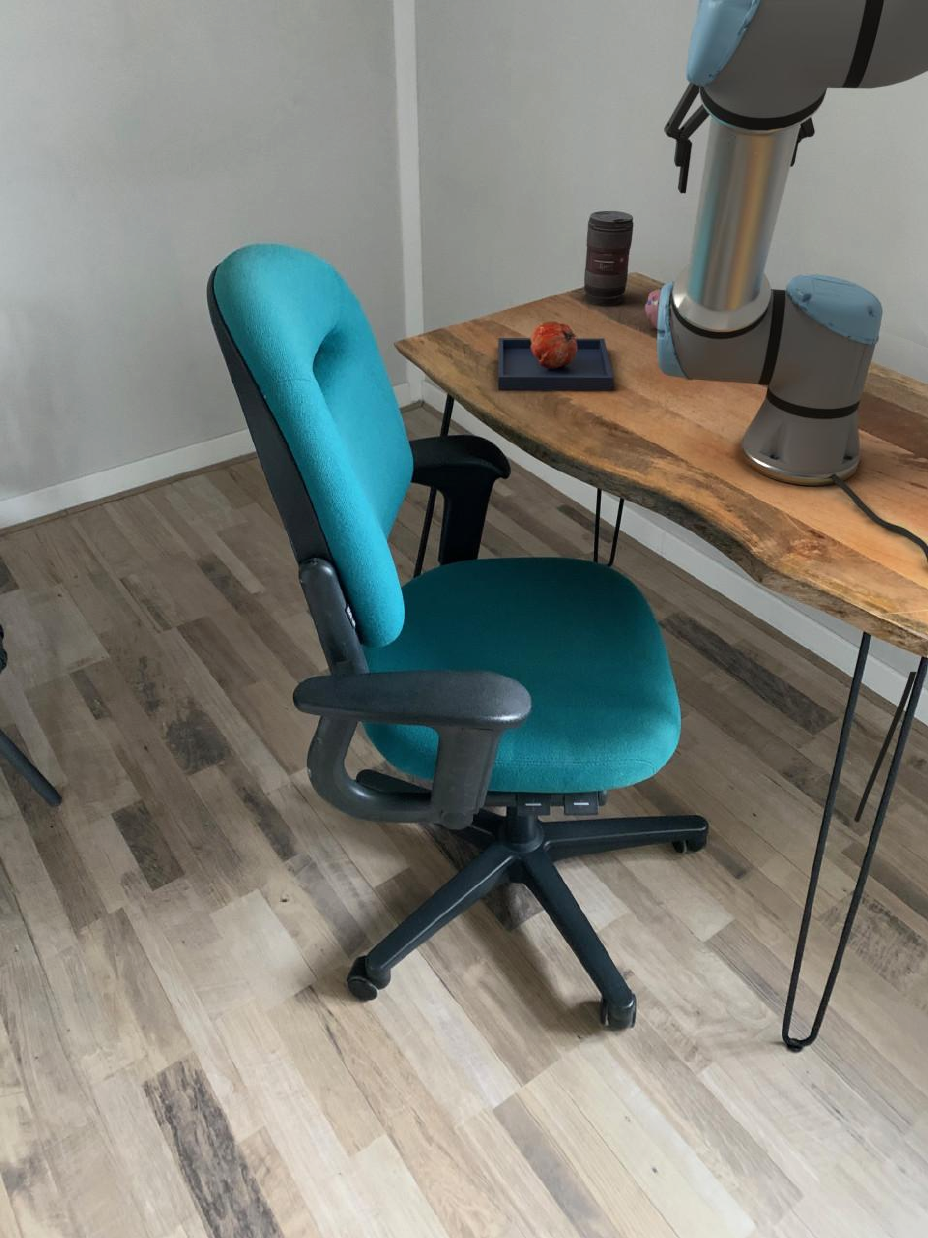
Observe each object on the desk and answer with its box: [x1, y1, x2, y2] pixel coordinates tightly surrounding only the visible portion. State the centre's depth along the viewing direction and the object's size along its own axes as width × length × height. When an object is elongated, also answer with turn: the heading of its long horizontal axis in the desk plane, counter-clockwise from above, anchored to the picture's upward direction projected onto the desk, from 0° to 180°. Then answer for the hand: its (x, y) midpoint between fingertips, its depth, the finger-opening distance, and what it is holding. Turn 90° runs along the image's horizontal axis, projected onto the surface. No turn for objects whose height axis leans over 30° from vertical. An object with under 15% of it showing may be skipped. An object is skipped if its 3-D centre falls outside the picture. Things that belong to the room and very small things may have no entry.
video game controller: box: [644, 289, 662, 330], centre depth 166 cm, size 10×5×7 cm, turn 162°
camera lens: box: [583, 210, 635, 307], centre depth 173 cm, size 8×8×15 cm
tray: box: [497, 337, 614, 391], centre depth 152 cm, size 16×18×2 cm
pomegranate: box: [529, 320, 577, 369], centre depth 150 cm, size 7×7×10 cm
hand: (729, 191), depth 136 cm, fingers open, 13 cm apart
